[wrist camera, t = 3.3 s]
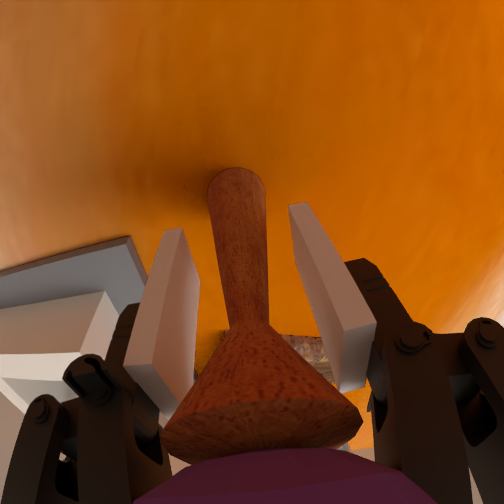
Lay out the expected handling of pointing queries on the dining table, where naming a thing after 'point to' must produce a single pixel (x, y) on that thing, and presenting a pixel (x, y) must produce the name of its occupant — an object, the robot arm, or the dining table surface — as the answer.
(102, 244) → the socket
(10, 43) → the dining table surface
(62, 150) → the dining table surface
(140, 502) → the kendama
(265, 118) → the dining table surface
